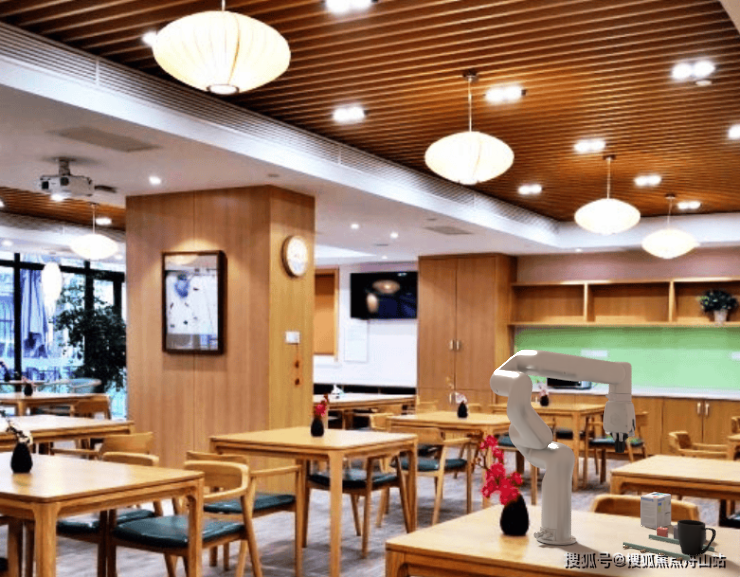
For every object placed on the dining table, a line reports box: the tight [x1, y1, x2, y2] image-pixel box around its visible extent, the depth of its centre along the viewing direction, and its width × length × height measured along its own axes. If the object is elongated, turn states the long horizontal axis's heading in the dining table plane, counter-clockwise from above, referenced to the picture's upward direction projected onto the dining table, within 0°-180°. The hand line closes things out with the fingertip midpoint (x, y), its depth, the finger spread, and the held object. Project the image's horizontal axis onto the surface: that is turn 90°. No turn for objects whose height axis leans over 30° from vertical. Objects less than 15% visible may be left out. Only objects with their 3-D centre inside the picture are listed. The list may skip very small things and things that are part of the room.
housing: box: [672, 524, 707, 544], centre depth 294 cm, size 10×10×4 cm
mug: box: [676, 519, 717, 557], centre depth 276 cm, size 8×12×10 cm
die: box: [656, 527, 669, 538], centre depth 297 cm, size 3×3×3 cm
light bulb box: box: [640, 491, 672, 530], centre depth 315 cm, size 11×7×11 cm, turn 136°
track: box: [622, 533, 715, 562], centre depth 282 cm, size 20×22×1 cm
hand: (619, 452), depth 303 cm, fingers closed
